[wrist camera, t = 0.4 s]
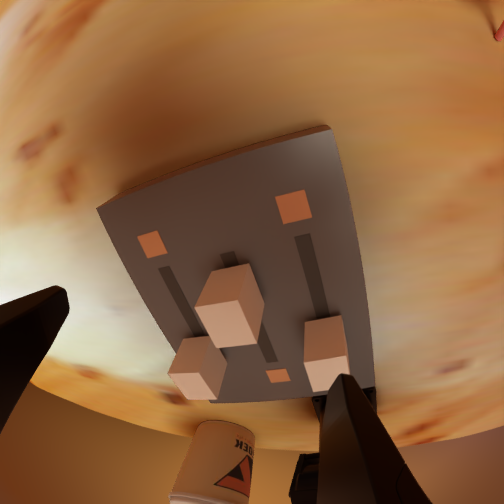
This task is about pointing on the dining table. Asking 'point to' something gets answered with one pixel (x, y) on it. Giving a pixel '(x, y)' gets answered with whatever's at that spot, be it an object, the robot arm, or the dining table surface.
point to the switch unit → (252, 255)
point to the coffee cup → (216, 466)
